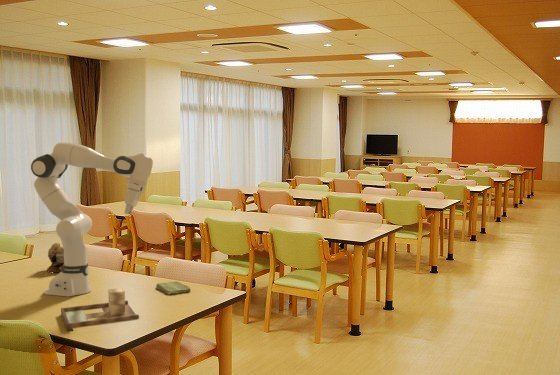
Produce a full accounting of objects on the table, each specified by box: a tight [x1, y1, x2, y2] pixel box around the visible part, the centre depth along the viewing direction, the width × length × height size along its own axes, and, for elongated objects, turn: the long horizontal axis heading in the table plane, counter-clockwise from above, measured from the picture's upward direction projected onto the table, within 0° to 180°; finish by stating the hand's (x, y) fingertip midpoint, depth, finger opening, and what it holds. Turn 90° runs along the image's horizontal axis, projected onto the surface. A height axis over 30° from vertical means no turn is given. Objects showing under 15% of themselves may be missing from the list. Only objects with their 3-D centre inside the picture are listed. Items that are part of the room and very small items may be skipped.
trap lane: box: [60, 299, 140, 332], centre depth 249 cm, size 29×24×3 cm
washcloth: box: [155, 280, 191, 296], centre depth 296 cm, size 13×18×3 cm
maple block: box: [107, 287, 126, 315], centre depth 252 cm, size 6×6×10 cm
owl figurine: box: [46, 242, 64, 274], centre depth 335 cm, size 18×12×17 cm, turn 45°
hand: (127, 214), depth 277 cm, fingers open, 8 cm apart
